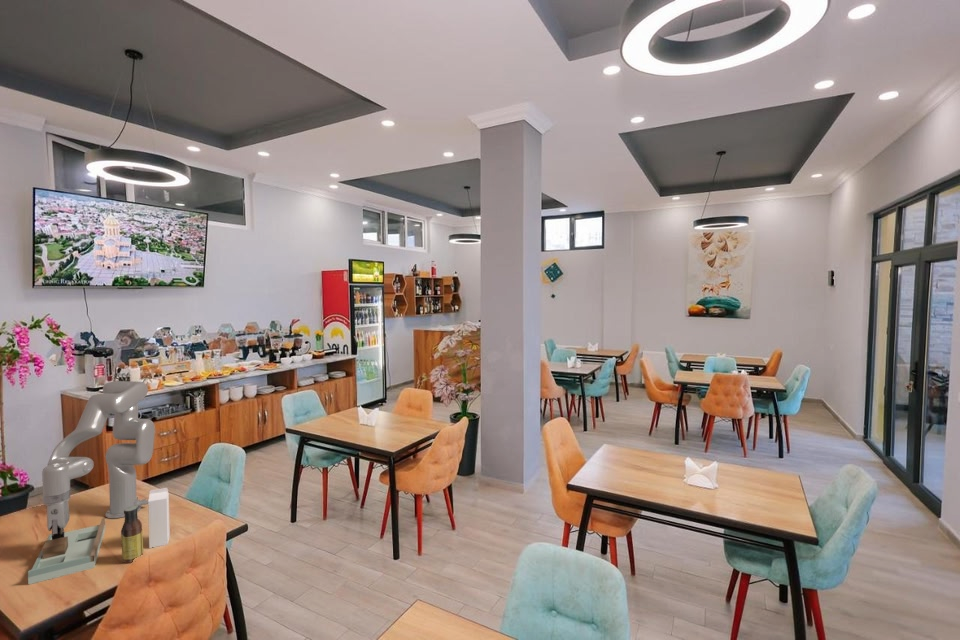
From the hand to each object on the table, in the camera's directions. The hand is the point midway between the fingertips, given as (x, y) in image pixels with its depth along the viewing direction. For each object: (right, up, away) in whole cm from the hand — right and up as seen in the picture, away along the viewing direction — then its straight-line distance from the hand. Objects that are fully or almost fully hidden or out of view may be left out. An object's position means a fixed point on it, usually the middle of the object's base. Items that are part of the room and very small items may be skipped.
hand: (58, 543), depth 169 cm
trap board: (+6, -4, -1) cm, 7 cm away
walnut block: (+3, -1, -4) cm, 5 cm away
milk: (+33, -4, +8) cm, 34 cm away
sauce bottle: (+31, -4, -4) cm, 32 cm away
